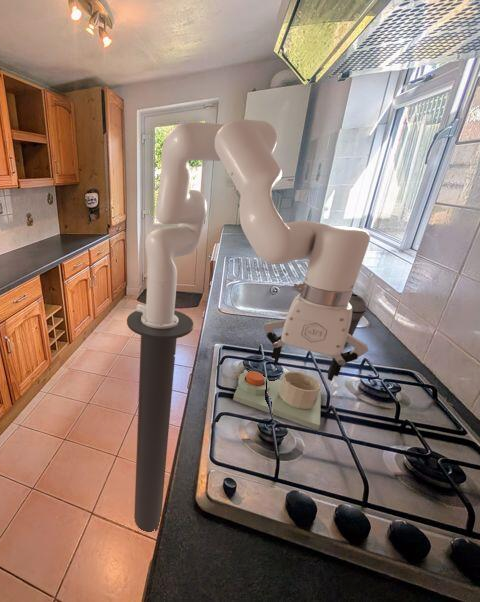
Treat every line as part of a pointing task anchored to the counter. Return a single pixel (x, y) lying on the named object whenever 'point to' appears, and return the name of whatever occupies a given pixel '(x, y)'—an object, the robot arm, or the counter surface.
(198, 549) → the counter surface
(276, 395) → the scale
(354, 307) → the beverage cup
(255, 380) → the button
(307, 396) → the bowl
